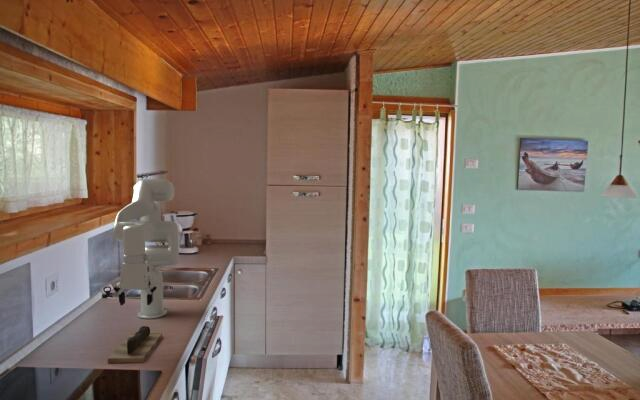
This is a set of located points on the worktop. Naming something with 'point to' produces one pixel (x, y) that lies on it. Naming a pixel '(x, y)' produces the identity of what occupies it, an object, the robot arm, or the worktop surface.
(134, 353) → the board
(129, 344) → the hand tool
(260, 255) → the worktop surface
